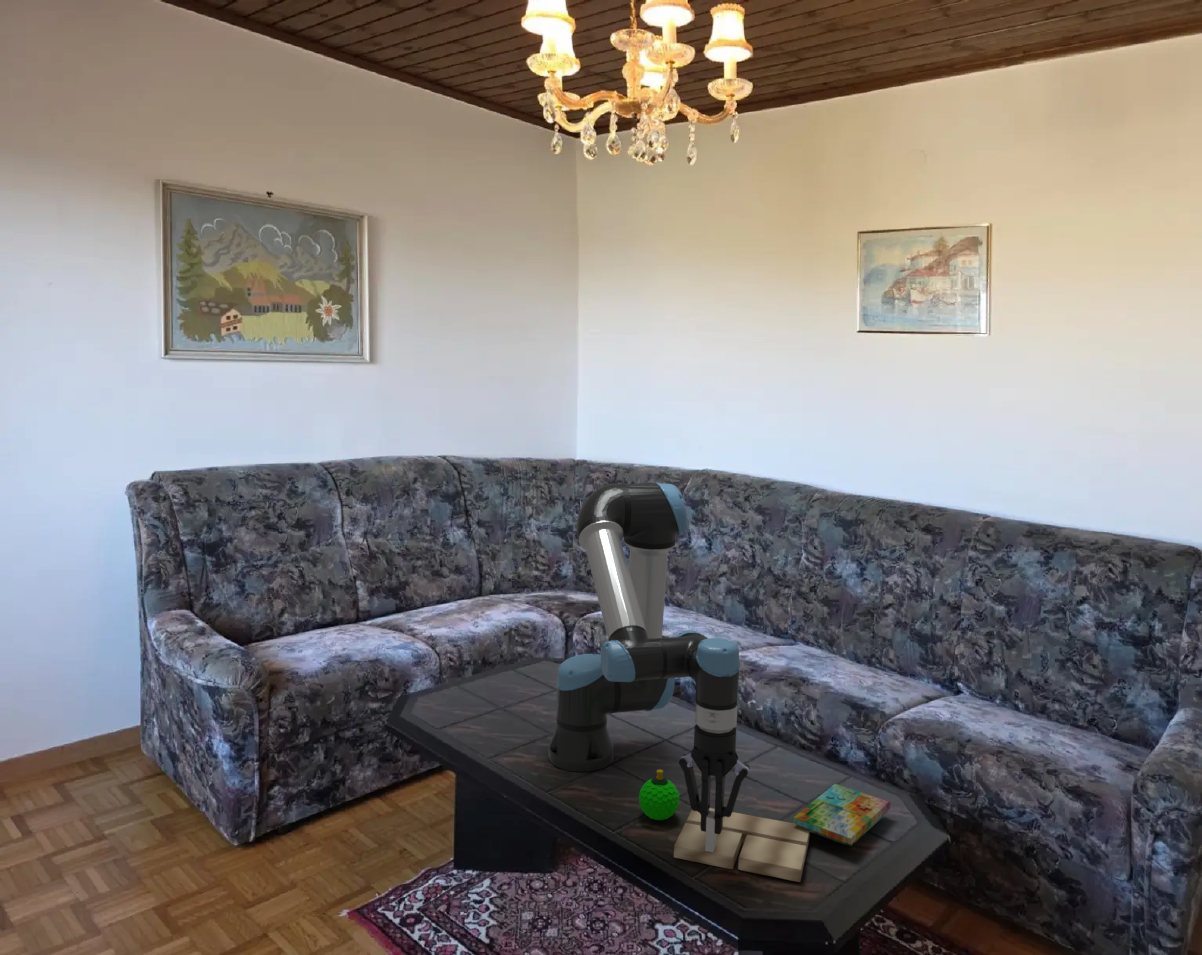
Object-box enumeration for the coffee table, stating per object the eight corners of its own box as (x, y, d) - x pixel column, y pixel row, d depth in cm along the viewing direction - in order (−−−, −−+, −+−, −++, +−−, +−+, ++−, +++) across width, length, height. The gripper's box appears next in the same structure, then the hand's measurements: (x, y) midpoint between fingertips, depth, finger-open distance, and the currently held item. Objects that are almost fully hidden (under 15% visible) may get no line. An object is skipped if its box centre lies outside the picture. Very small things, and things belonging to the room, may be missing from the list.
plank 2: (738, 869, 159) (738, 857, 159) (746, 845, 168) (747, 834, 168) (800, 881, 156) (800, 869, 156) (805, 857, 164) (806, 845, 164)
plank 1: (673, 857, 163) (674, 845, 163) (685, 833, 172) (685, 822, 172) (732, 869, 160) (733, 857, 160) (741, 844, 168) (741, 833, 168)
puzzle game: (891, 797, 179) (851, 834, 163) (889, 819, 179) (849, 858, 164) (836, 779, 186) (793, 812, 170) (834, 800, 186) (791, 836, 171)
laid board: (685, 833, 172) (686, 821, 172) (693, 815, 179) (694, 804, 178) (805, 856, 165) (806, 844, 164) (809, 837, 171) (810, 825, 171)
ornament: (638, 807, 182) (639, 761, 181) (677, 808, 182) (679, 762, 180) (638, 827, 174) (639, 779, 173) (679, 829, 174) (681, 781, 172)
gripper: (675, 727, 158) (671, 851, 161) (748, 739, 154) (742, 865, 157) (685, 712, 165) (681, 831, 168) (754, 723, 161) (749, 844, 164)
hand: (710, 847), depth 162 cm, fingers closed
